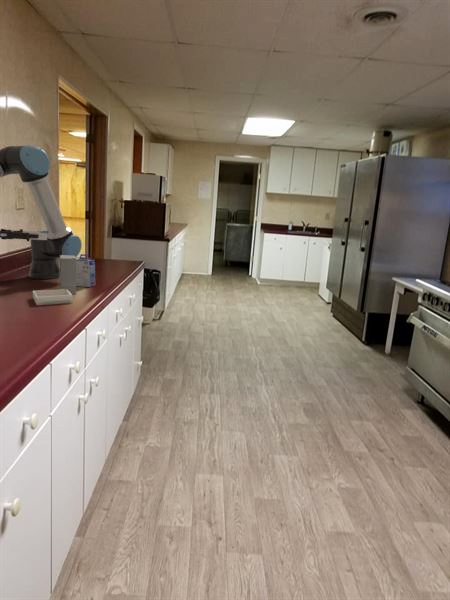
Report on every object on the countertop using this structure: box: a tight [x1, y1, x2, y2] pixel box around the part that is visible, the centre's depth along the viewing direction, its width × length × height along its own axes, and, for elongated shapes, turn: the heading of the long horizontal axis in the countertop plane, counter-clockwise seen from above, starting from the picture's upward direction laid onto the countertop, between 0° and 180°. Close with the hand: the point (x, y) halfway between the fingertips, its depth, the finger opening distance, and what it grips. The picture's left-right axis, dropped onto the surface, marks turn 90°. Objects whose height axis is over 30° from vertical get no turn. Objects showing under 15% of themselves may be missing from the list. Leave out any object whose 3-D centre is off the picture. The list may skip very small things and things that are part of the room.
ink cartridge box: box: [76, 253, 96, 288], centre depth 197 cm, size 10×6×14 cm, turn 78°
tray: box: [32, 288, 74, 306], centre depth 168 cm, size 13×13×3 cm
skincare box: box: [58, 255, 78, 296], centre depth 180 cm, size 8×7×16 cm
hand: (43, 235), depth 175 cm, fingers open, 13 cm apart
